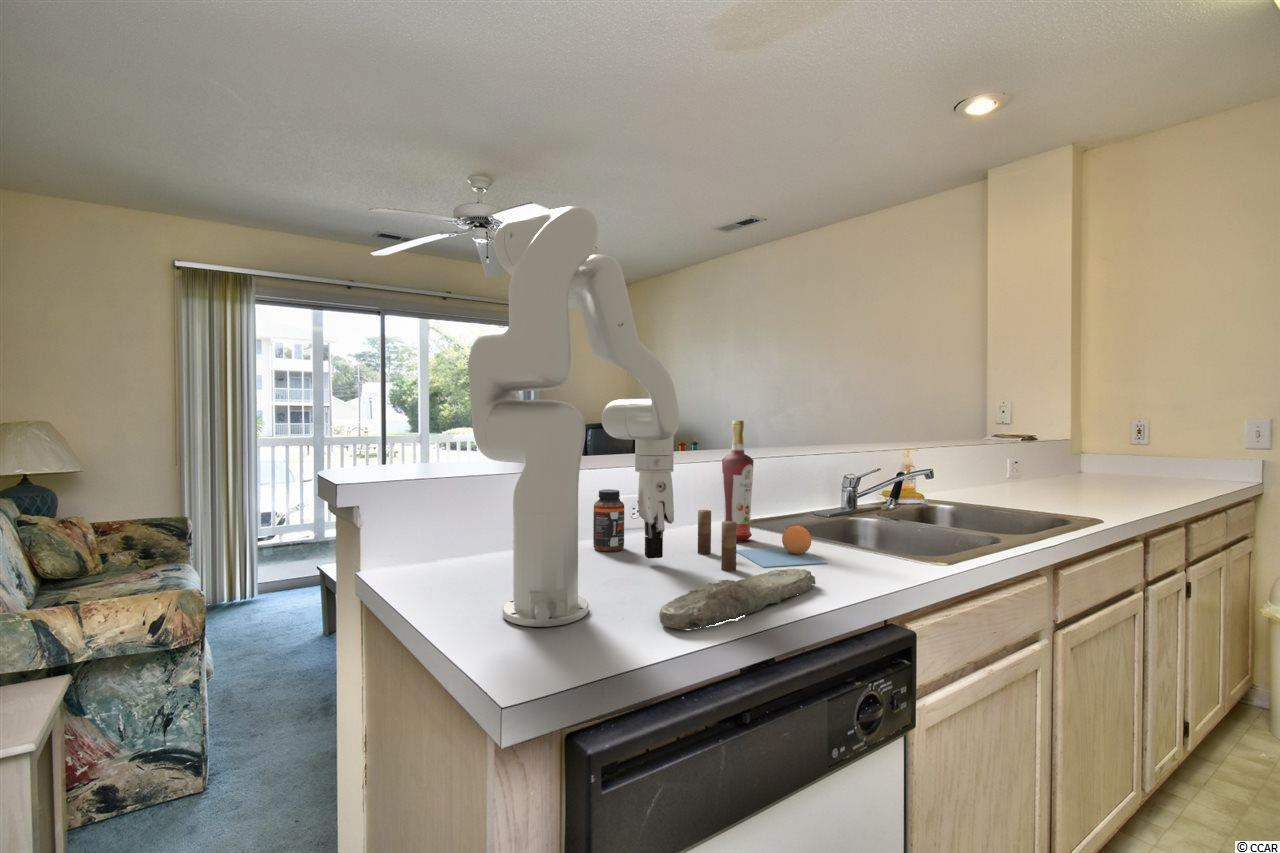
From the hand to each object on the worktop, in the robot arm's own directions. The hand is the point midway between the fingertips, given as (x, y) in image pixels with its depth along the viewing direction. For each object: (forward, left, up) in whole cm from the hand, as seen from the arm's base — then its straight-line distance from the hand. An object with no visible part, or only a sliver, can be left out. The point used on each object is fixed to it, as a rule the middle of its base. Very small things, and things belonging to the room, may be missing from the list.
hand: (653, 557), depth 115 cm
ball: (+2, -32, +2) cm, 32 cm away
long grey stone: (-26, -8, -2) cm, 27 cm away
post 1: (+7, -13, -2) cm, 15 cm away
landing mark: (0, -27, -2) cm, 27 cm away
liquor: (+17, -25, -2) cm, 30 cm away
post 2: (-7, -13, -2) cm, 15 cm away
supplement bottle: (+15, +6, -2) cm, 16 cm away
